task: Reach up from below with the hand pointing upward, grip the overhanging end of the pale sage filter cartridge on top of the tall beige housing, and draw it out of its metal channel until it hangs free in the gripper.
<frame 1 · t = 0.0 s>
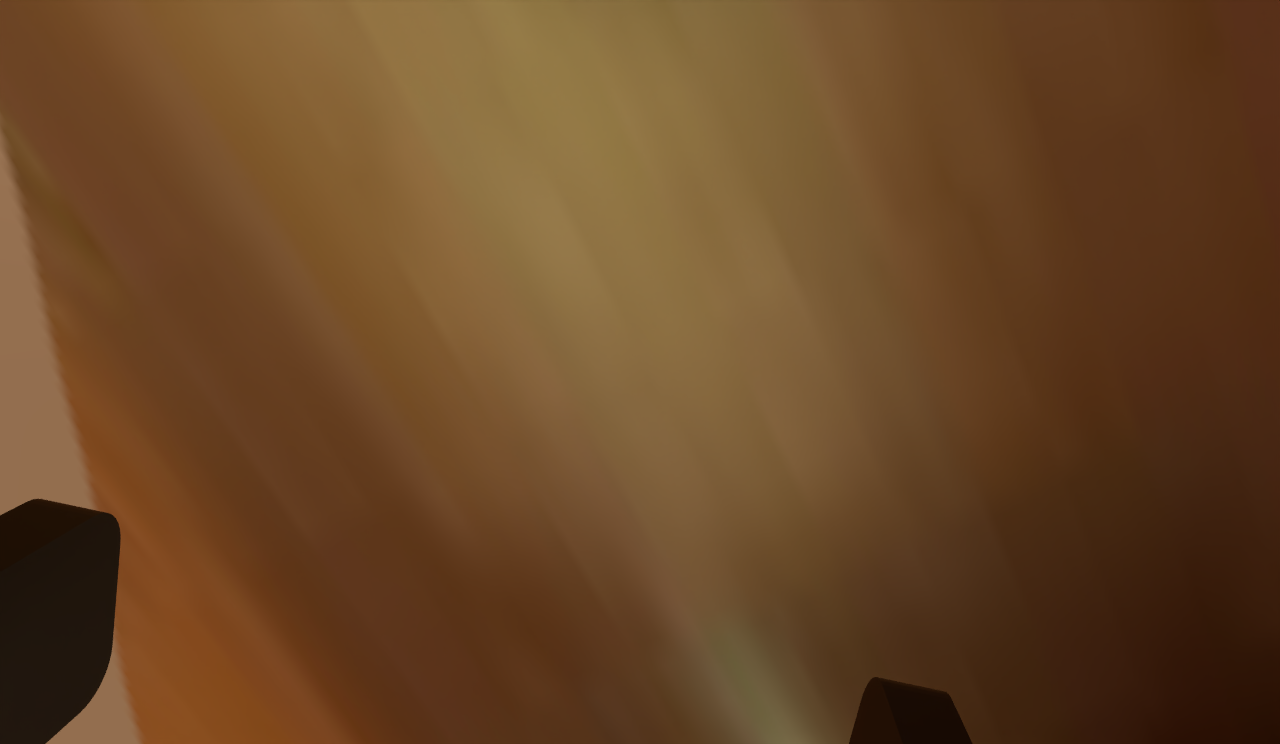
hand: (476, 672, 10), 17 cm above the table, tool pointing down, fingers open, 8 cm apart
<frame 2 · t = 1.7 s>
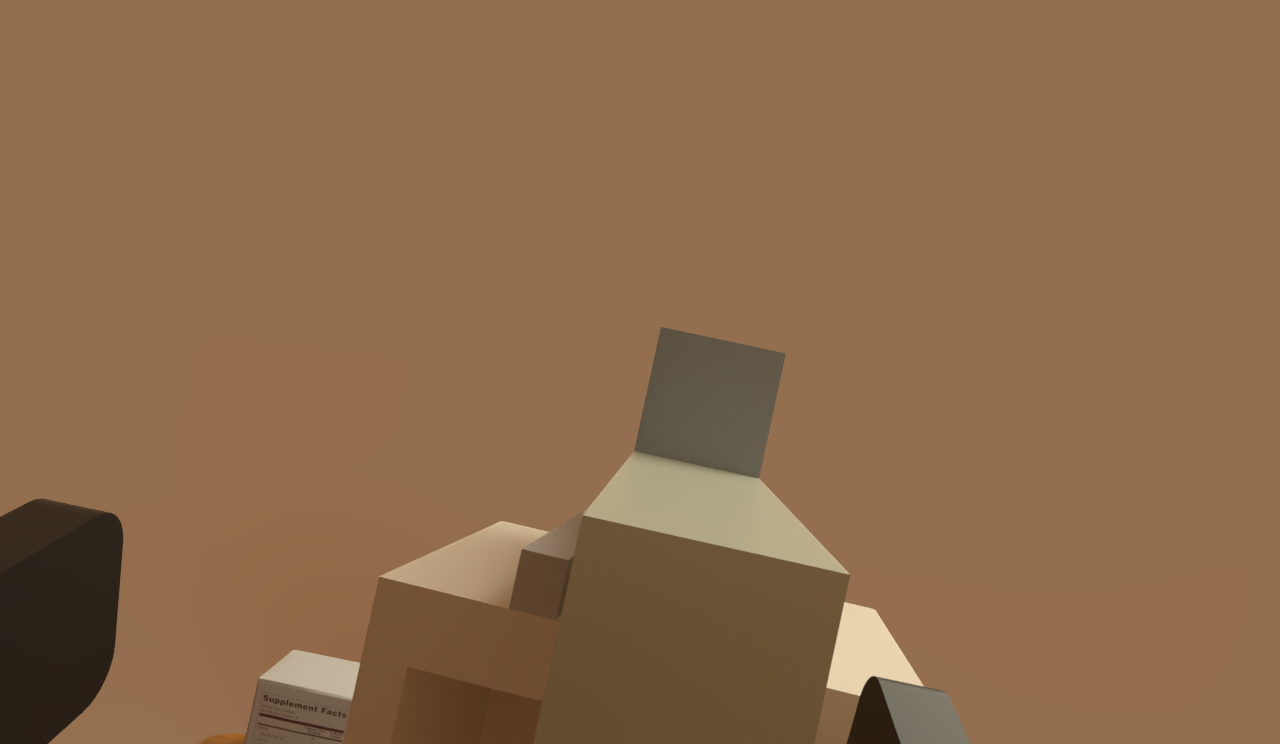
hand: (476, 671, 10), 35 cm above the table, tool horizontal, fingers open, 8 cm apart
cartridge: (669, 596, 29), point 32 cm above the table, touching housing
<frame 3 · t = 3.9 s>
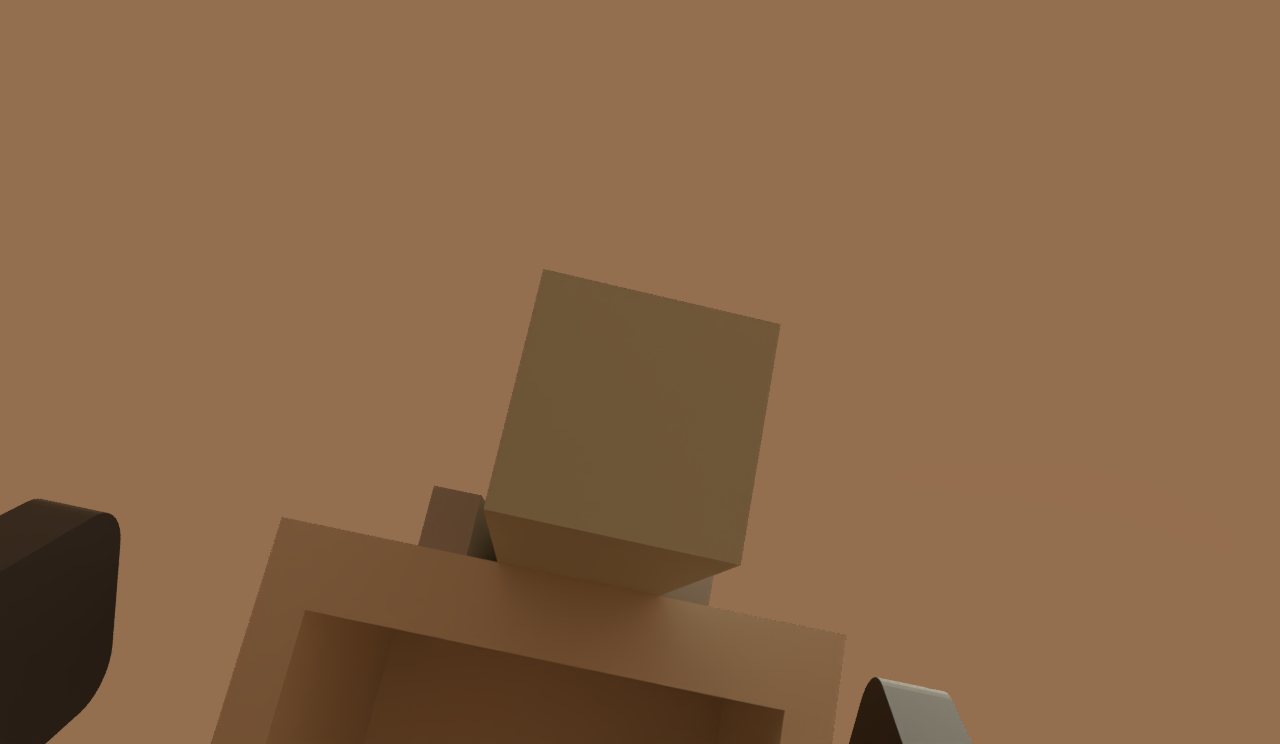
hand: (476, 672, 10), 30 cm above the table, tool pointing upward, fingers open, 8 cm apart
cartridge: (567, 592, 29), point 32 cm above the table, touching housing
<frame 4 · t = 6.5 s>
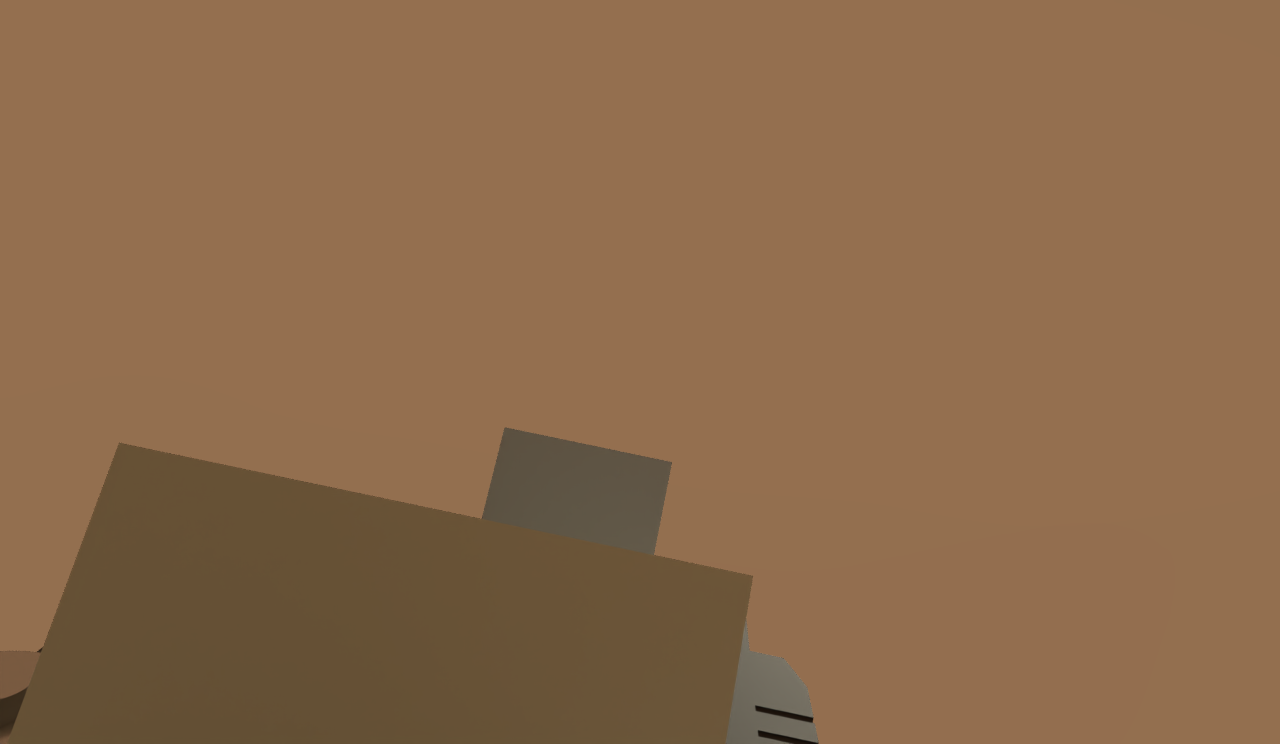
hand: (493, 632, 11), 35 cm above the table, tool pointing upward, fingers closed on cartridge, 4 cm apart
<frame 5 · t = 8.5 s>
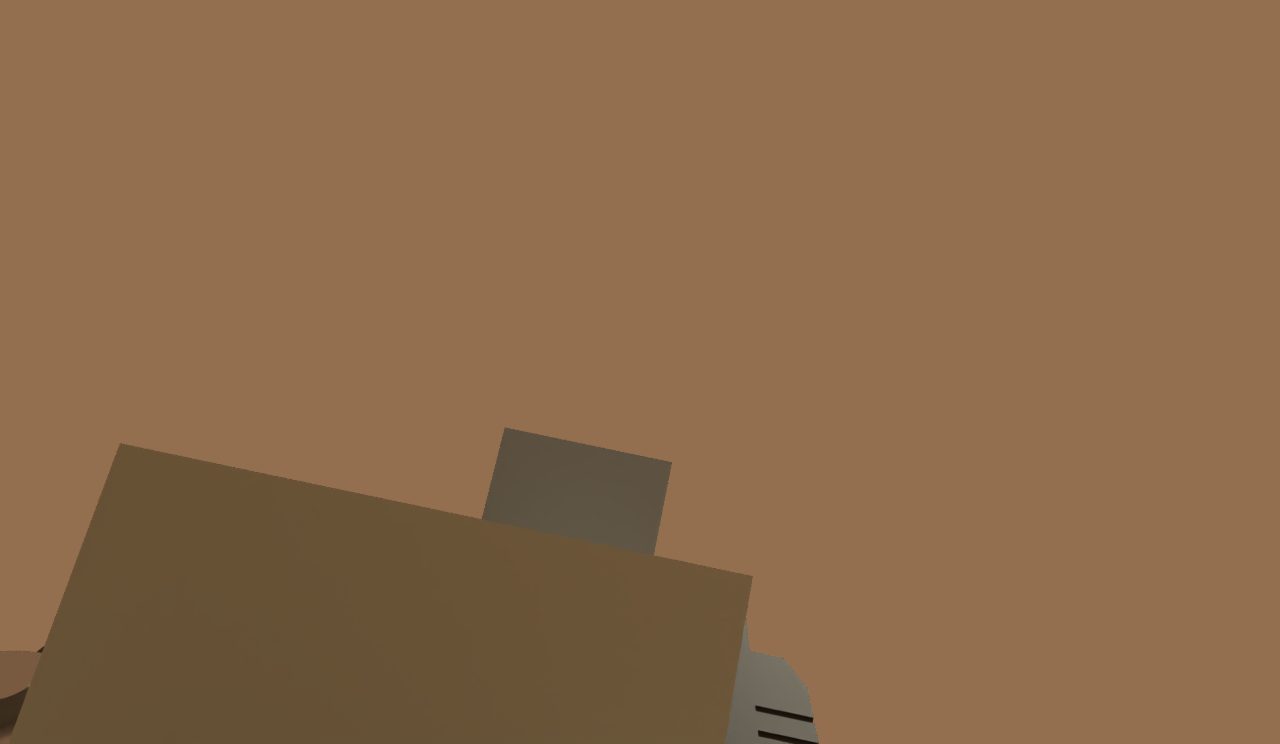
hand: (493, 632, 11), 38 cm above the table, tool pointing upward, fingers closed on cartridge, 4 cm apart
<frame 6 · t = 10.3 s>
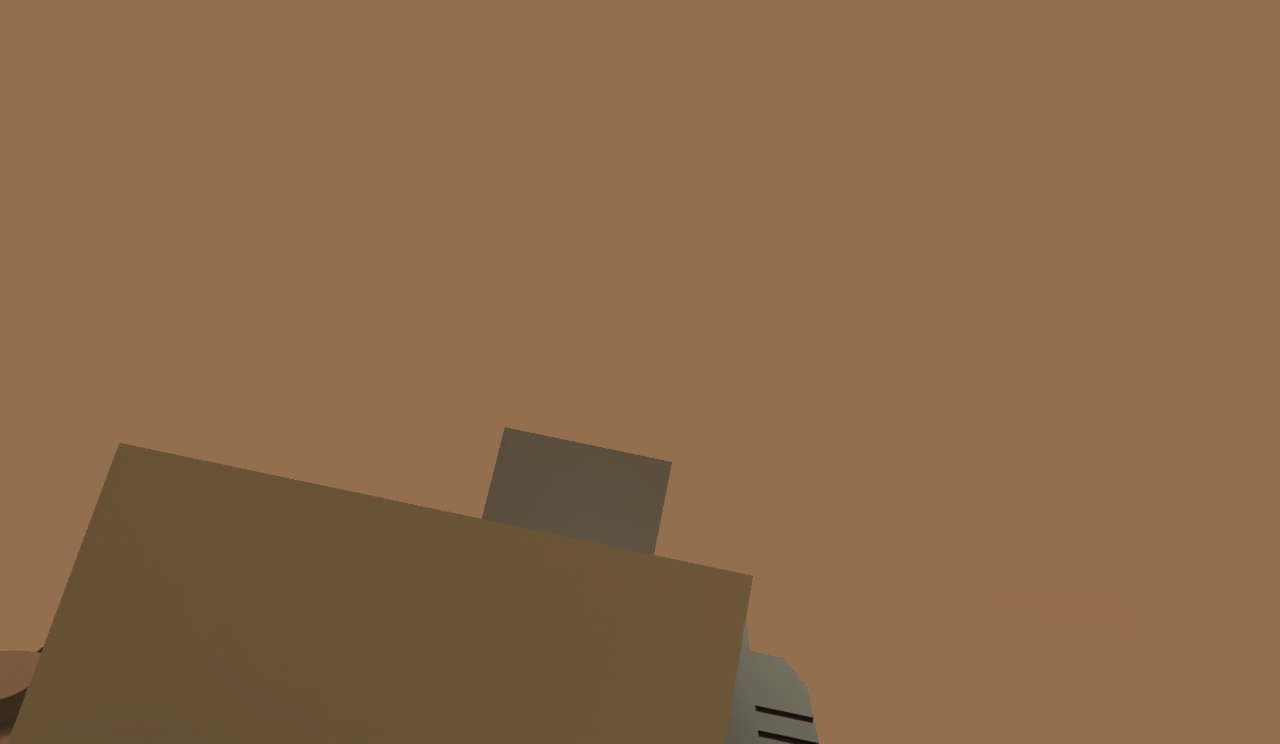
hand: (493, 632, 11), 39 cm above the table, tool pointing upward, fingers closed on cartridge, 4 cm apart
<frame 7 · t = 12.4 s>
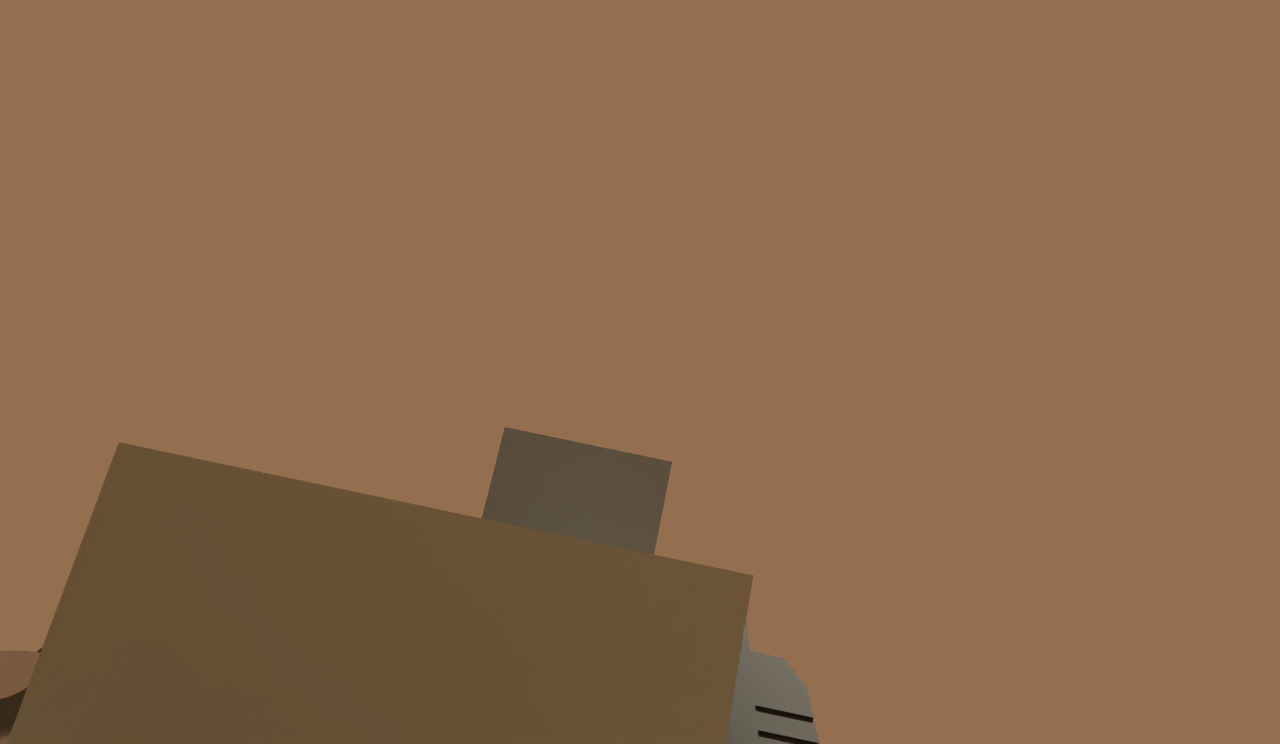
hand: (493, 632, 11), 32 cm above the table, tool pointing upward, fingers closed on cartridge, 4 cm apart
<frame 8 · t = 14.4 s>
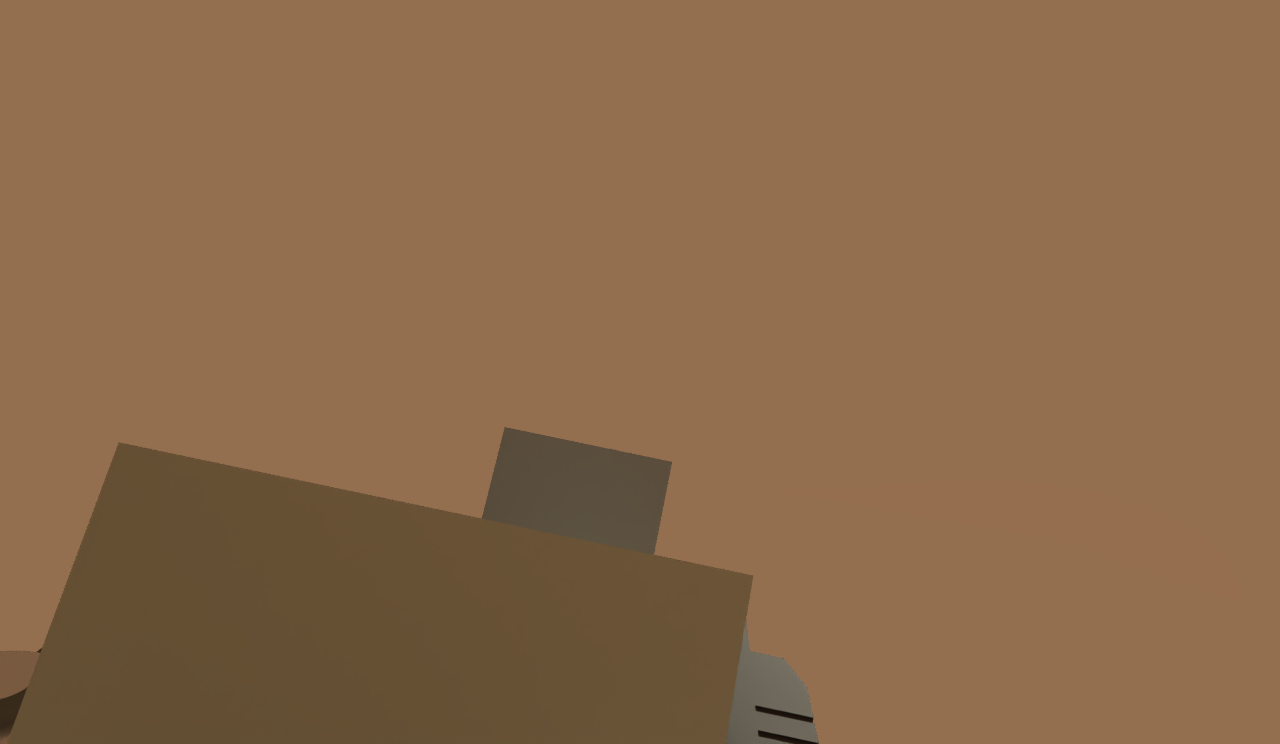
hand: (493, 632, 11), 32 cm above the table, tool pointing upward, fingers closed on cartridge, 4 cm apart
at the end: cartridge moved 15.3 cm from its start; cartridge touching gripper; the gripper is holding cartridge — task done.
